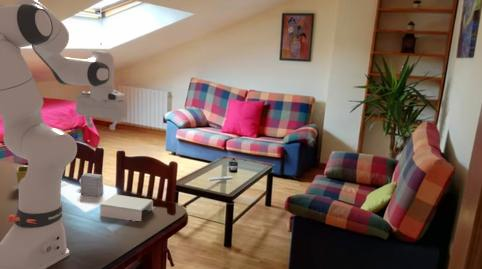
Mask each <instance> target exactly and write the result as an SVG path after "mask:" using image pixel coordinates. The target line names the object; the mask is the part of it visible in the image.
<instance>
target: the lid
mask: <svg viewBox="0 0 482 269" xmlns="http://www.w3.org/2000/svg"><path fill="white" fill-rule="evenodd" d="M152 201H153V202H154V200H153V199H149V198H140V197H135V196H128V195H121V194H113V195H112V196H110V197H108V199H106V200H104V201H103V202H102V203H100V204H99V206H103V207H110V208H117V209H123V210H130V211H137V212H141V211H144V209H145V208H146V207H147V206H148V205H149V204H150V203H152Z"/></svg>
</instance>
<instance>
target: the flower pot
mask: <svg viewBox="0 0 482 269" xmlns="http://www.w3.org/2000/svg"><path fill="white" fill-rule="evenodd" d="M27 169H28V165H27V166H18V167H17V170H16V177H17V178H16V179H17V184H18V185H19V182H20V181H21V180H22V179H23V178H24V177H25V175H26V172H27Z"/></svg>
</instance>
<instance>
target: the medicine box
mask: <svg viewBox="0 0 482 269" xmlns="http://www.w3.org/2000/svg"><path fill="white" fill-rule="evenodd" d="M103 178H104V177H103V174H98V173H90V172H89V173H88V172H86V173H83V174H82V175H80V179H81V185H80V195H83V196H91V197H100V196H101V195H102V194H103V193H104V192H103V187H104V186H103V183H104V180H103Z"/></svg>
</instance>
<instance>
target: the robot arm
mask: <svg viewBox="0 0 482 269" xmlns="http://www.w3.org/2000/svg"><path fill="white" fill-rule="evenodd" d="M69 34H70V33H69V31H68V28H67V27H66V26H65V24H64V23H63V22H62V21H61V20H60V19H59V18H58V17H57V15H55V14H54V13H53V12H52V11H51V10H50V9H48V8H47V7H46V6H45V5H44V4H43V3H41V2H39V1H38V0H16V1H15V2H13V3H12V4H7V5H5V4H0V118H1V120H2V125H3V128H4V133H3V138H2V139H3V143H4V145H5V147H6V148H7V150H9V151H10V152H11V153H12V154H13V155H14V156H16V157H19V158H22V159H25V160H27V166H28V169H27V172H26V175H25V177H24V178H23V179H22V180H21V181H20V182H19V184H18V208H17V209H16V213H15V214H9V215H8V216H7V222H11V223H14V224H13V225H12V227H10V229H9V230H8V231H7V233H6V234H5V236H4V237H3V238H2V240H0V269H47V268H49V267H51V266H52V265H54V264H56V263H58V262H59V261H61V260H63V259H66V258H67V257H68V256H70V255H71V252H70V250H69V248H68V247H67V239H66V238H67V237H66V228H65V226H64V224H63V221H62V218H63V205H62V204H61V202H62V201H61V199H62V198H61V196H62V195H61V194H62V193H61V192H62V180H63V175H64V172H65V170H66V168H67V166H68V165H70V164H71V163H72V162H73V161H74V159H75V158H76V155H77V153H78V145H77V141H76V140H75V138H74V137H73V136H71V135H70V134H68V133H67V132H66V131H64V130H63V129H60V128H56V127H52V126H49V125H47V124H46V123H45V121H44V118H43V115H42V107H43V105H44V99H43V96H42V94H41V92H40V89H39V87H38V85H37V83H36V80H35V78H34V76H33V73H32V71H31V69H30V67H29V65H28V63H27V62H26V60H25V58H24V57H23V55H22V53H21V52H22V51H21V48H25V47H30V46H31V48H32V50H33V51H34V53H35V54H36V55H37V56H38V58H39V59H40V60H41V61H42V62H43V63H44V64H45V66H47V67H48V68H49V70H50V71H51V73H52V74H53V77H54V78H55V80H56V81H57V82H58V83H59V84H61V85H67V86H68V85H69V86H71V85H72V86H73V85H75V86H81V87H89V91H87V92H86V91H80V92H79V93H77V95H76V100H77V101H76V104H75V105H76V106H75V107H76V108H75V113H76V115H77V116H84V120H85V122H86V125H87V128H93V127H94V122H92V121H91V118H102V119H108V120H109V119H111V121H112V122H113V123H112V124H109V128H108V129H109V130H110V131H115V129H116V125H117V124H118V122H119V120H120V121H123V120H125V119H127V118H128V105H127V102H126V101H125V100H126V99H127V98H126V94H125V93H122V92H120V91H118V90H116V89H115V85H114V79H115V78H114V77H115V61H114V57H113V56H114V55H112V54H111V53H110V52H107V51H102V50H94V51H92V53H91V56H90V57H87V58H86V59H85V58H73V57H67V56H63V55H62V54H61V53H62V52H63V51H64V50H65V49H66V47H67V46H68V44H69V40H70V35H69Z"/></svg>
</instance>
